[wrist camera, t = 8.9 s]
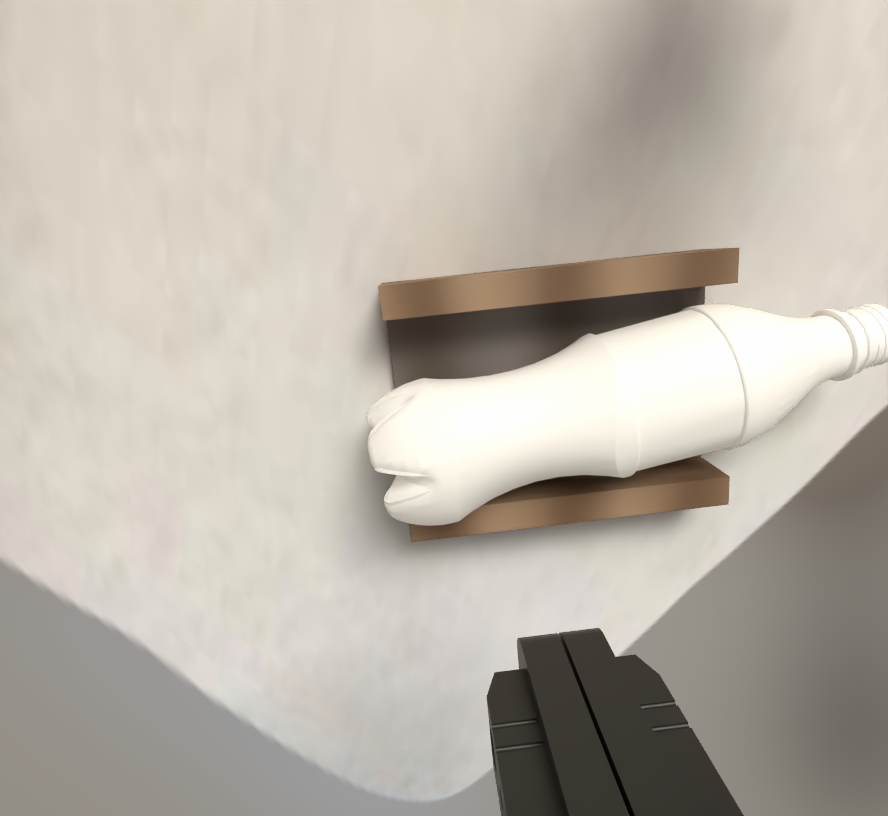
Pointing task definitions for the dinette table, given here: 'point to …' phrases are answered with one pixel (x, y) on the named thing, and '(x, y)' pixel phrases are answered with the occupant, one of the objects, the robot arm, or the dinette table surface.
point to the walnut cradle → (538, 337)
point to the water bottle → (611, 403)
